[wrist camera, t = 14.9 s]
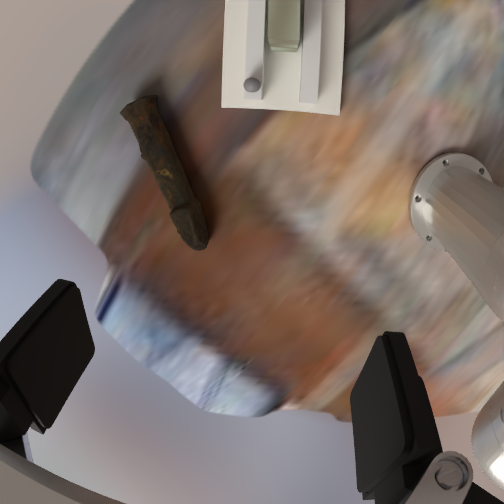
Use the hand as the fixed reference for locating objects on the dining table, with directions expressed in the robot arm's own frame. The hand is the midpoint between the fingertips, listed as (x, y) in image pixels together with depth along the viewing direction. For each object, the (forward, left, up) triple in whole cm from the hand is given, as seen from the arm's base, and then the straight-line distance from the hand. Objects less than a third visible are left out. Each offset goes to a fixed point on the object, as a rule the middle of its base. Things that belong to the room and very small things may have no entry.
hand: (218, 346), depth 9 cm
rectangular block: (-1, -15, -27) cm, 31 cm away
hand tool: (+10, +2, -29) cm, 31 cm away
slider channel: (-1, -14, -28) cm, 32 cm away
